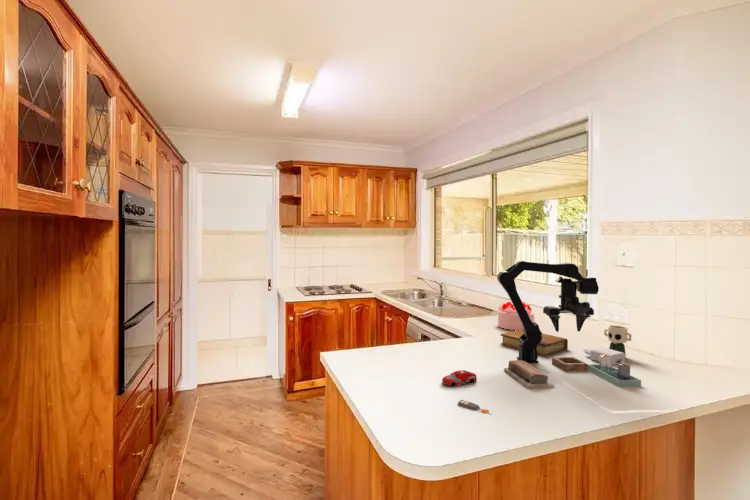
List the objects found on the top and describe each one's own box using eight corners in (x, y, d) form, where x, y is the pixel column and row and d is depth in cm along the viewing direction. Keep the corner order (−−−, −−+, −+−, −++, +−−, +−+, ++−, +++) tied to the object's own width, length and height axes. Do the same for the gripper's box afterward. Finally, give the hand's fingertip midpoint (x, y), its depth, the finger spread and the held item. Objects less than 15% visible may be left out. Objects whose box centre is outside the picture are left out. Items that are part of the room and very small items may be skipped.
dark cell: (622, 385, 129) (623, 364, 129) (614, 381, 132) (615, 361, 132) (632, 384, 129) (632, 364, 129) (624, 380, 133) (624, 361, 132)
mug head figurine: (599, 354, 166) (600, 325, 165) (608, 352, 169) (608, 323, 169) (626, 361, 156) (627, 330, 156) (634, 358, 160) (635, 328, 160)
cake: (530, 333, 204) (530, 307, 204) (493, 328, 215) (493, 303, 215) (536, 326, 221) (537, 302, 220) (502, 322, 232) (502, 299, 231)
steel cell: (596, 371, 142) (597, 353, 142) (605, 371, 142) (606, 353, 142) (603, 375, 138) (603, 356, 138) (612, 374, 138) (612, 356, 138)
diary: (567, 350, 173) (567, 338, 173) (545, 357, 163) (545, 344, 162) (522, 339, 192) (523, 328, 192) (500, 345, 181) (500, 333, 181)
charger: (590, 353, 167) (625, 363, 154) (577, 356, 163) (611, 366, 150) (591, 343, 167) (625, 352, 154) (577, 345, 163) (611, 355, 150)
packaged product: (503, 359, 144) (527, 358, 145) (503, 371, 144) (527, 370, 145) (527, 376, 126) (555, 375, 127) (527, 390, 126) (555, 389, 127)
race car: (447, 389, 126) (447, 377, 126) (438, 383, 131) (439, 372, 131) (479, 383, 132) (479, 372, 131) (469, 378, 137) (469, 367, 136)
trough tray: (618, 387, 127) (619, 380, 127) (586, 370, 144) (586, 364, 144) (641, 387, 128) (641, 380, 128) (606, 370, 145) (606, 363, 145)
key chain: (456, 406, 113) (456, 401, 113) (462, 402, 116) (462, 398, 116) (498, 420, 105) (498, 415, 105) (503, 416, 107) (503, 411, 107)
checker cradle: (564, 372, 143) (565, 363, 142) (551, 364, 152) (552, 356, 151) (587, 371, 143) (587, 363, 143) (573, 364, 152) (573, 356, 152)
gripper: (558, 296, 144) (557, 336, 145) (603, 296, 146) (603, 336, 146) (542, 292, 155) (542, 330, 156) (585, 292, 157) (584, 329, 157)
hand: (567, 331), depth 153 cm, fingers open, 9 cm apart
